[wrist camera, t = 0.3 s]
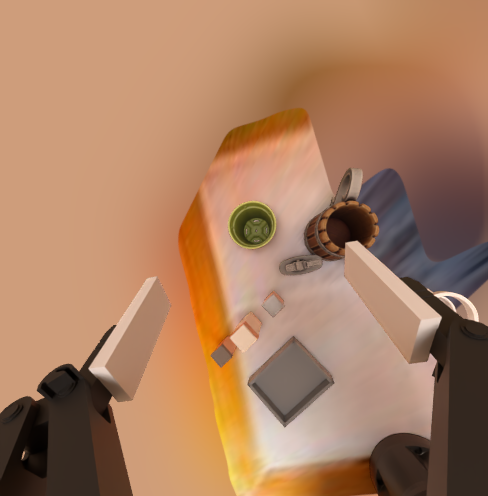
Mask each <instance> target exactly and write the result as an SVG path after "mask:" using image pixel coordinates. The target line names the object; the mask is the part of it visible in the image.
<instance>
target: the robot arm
mask: <svg viewBox="0 0 488 496" xmlns="http://www.w3.org/2000/svg"><path fill="white" fill-rule="evenodd" d="M344 276H345V278H346V279H347V280H348V282H349V283H350V285H351V286H352V287H353V289H354V290H355V291H356V293H357V294H358V295H359V297H360V298H361V299H362V301H363V302H364V303H365V305H366V306H367V308H368V309H369V310H370V312H371V313H372V314H373V316H374V317H375V318H376V320H377V321H378V322H379V324H380V325H381V326H382V328H383V329H384V331H385V332H386V333H387V335H388V336H389V337H390V339H391V340H392V341H393V343H394V344H395V345H396V347H397V348H398V349H399V351H400V352H401V354H402V355H403V356H404V358H405V359H406V360H407V362H408V363H409V364H412V363H419V362H427V360H428V357H429V354H430V353H431V354H432V355H433V356H434V358H435V359H436V360H437V363H436V366H435V369H434V371H433V374H432V376H434V377H435V383H434V397H433V411H432V425H431V439H430V441H429V440H427V439H425V438H423V437H420V436H417V435H413V434H396V435H392V436H390V437H387V438H385V439H384V440H382V441H381V442H380V443H379V444H378V445H377V446H376V447H375V449H374V451H373V453H372V455H371V459H370V475H371V479H372V481H373V484H374V486H375V489H376V491H377V494H378V496H488V326H486V325H484V324H482V323H479V322H477V321H474V320H469V319H463V318H462V317H461V316H459V315H458V314H457V313H456V312H455V311H453V310H452V309H451V308H450V307H448V306H447V305H446V304H445V303H444V302H442V301H441V300H440V299H439V298H437V297H436V296H434V294H433V293H431V292H430V291H428V290H427V288H425V287H424V286H423V285H422V284H420V283H419V282H417V281H415V280H413V279H411V278H409V277H404V278H398V277H397V276H396V275H395V274H394V273H392V272H391V271H390V270H389V269H388V268H387V267H386V266H385V265H384V264H382V263H381V262H380V261H379V260H378V259H377V258H376V257H375V256H374V255H372V254H371V253H370V252H369V251H368V250H367V249H366V248H365V247H364V246H362V245H361V244H360V243H359V242H358V241H353V242H347V243H345V273H344ZM170 307H171V304H170V302H169V299H168V297H167V295H166V293H165V291H164V289H163V287H162V285H161V283H160V281H159V279H158V277H152V278H147V280H146V281H145V283H144V284H143V286H142V287H141V289H140V290H139V292H138V293H137V295H136V296H135V298H134V299H133V301H132V303H131V304H130V306H129V307H128V309H127V310H126V312H125V313H124V315H123V316H122V318H121V319H120V321H119V322H118V324H117V325H113V327H111V328H110V329H109V330H108V331H107V332H106V333H105V335H104V336H103V337H102V339H101V340H100V343H98V345H97V346H96V348H95V350H94V351H93V352H92V354H91V355H90V356H89V358H88V359H87V361H86V362H85V364H84V365H83V367H82V368H81V370H80V371H78V370H77V369H76V368H75V367H74V366H73V365H72V364H65V365H62V366H60V367H58V368H56V369H54V370H53V371H52V372H50V373H49V374H48V375H47V376H46V377H45V378H44V379H43V380H42V381H41V383H40V384H39V385H38V389H37V391H38V392H39V393H40V394H41V395H43V396H44V397H45V398H43V399H40V400H38V401H35V400H34V399H32V398H31V397H28V396H26V397H23V398H20V399H18V400H16V401H15V402H13V403H12V404H10V405H9V406H8V407H6V408H5V409H4V410H3V411H2V412H1V413H0V496H133V494H132V490H131V486H130V482H129V477H128V474H127V469H126V465H125V461H124V457H123V453H122V449H121V445H120V440H119V436H118V432H117V428H116V424H115V420H114V416H113V412H112V408H111V406H110V404H109V401H110V399H111V397H112V396H113V397H114V398H115V399H116V400H117V402H123V401H130V400H133V397H134V395H135V393H136V390H137V388H138V385H139V383H140V381H141V378H142V376H143V373H144V371H145V368H146V366H147V363H148V361H149V358H150V356H151V354H152V351H153V348H154V346H155V344H156V341H157V339H158V336H159V334H160V331H161V329H162V326H163V324H164V322H165V319H166V316H167V314H168V312H169V309H170ZM23 451H25V455H24V458H23V459H22V454H23ZM21 459H22V460H21Z"/></svg>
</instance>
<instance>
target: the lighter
mask: <svg viewBox="0 0 488 496" xmlns="http://www.w3.org/2000/svg"><path fill="white" fill-rule="evenodd" d="M322 264H323V263H322V259H321V258H320V257H319V256H317V255H306V256H298V257H293V258H290V259H287V260H285V261H282V262H281V263H280V267H279V269H280V272H281V273H282V274H283V275H299V274H305V273H309V272H312V271H314V270H317V269H319V268H321V266H322Z"/></svg>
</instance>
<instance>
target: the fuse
mask: <svg viewBox="0 0 488 496" xmlns="http://www.w3.org/2000/svg"><path fill="white" fill-rule="evenodd" d="M261 324H262V323H261V322H260V321H259V320H258V319H257V318H256V316H255V315H254V314H253V313H252V312H250V313H249V314H248V315H247V316H246V317H245V318H244V319H243V320H242V321H241V322H240V323H239V324H238V326H237V327H236V329H235V330H234V332H233V333H232V334H231V335H230V339H231V340H232V341H233V342H234V344H235V345H236V346H237V347H238V348H239V349H240V350H241V351H242V352H243V353H244V352H245V351H246V350H247V349H248V348H249V347H250V346H251V345H252V344H253V343H254V342H255V341H256V340H257V339H258V337H259V331H260V328H261Z"/></svg>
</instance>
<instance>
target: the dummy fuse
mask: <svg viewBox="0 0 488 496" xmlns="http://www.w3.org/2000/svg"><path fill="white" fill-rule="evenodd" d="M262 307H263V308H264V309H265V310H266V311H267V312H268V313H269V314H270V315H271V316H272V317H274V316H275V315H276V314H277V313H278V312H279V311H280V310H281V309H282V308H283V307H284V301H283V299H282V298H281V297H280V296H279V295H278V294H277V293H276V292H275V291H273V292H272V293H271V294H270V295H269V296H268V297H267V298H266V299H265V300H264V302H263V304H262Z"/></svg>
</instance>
